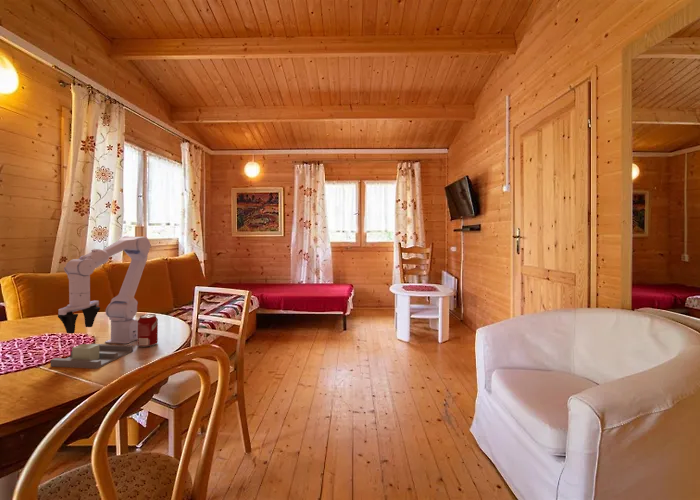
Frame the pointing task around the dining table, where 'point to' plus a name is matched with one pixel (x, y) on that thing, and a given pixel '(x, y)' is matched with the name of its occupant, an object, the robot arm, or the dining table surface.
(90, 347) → the plug block
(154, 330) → the soda can
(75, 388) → the dining table surface
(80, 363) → the ribbed grey tray
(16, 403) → the dining table surface
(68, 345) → the dining table surface
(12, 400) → the dining table surface
